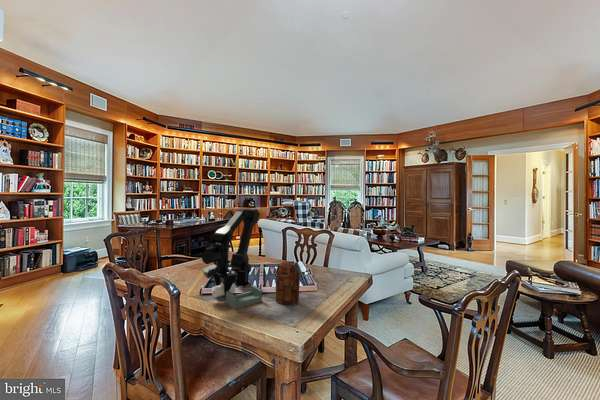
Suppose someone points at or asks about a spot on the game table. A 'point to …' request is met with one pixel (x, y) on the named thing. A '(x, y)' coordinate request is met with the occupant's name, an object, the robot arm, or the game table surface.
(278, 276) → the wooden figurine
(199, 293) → the game table surface
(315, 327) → the game table surface
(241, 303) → the grey-green grooved block
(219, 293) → the roll
